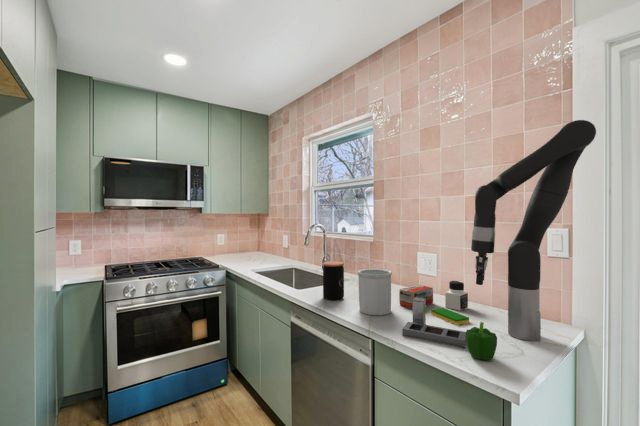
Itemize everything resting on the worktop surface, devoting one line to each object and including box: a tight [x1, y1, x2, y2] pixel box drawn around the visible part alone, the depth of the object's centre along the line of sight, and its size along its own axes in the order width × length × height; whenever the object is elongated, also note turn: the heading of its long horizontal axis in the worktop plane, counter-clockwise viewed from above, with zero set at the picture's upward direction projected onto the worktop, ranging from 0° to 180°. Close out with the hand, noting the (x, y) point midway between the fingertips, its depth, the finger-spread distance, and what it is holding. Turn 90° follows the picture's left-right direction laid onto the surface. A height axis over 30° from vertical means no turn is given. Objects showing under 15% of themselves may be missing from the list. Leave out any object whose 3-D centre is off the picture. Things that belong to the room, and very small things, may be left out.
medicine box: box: [398, 284, 434, 310], centre depth 143 cm, size 15×8×8 cm, turn 125°
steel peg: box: [412, 297, 427, 325], centre depth 117 cm, size 4×4×10 cm
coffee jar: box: [322, 260, 345, 302], centre depth 154 cm, size 11×11×18 cm
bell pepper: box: [465, 321, 498, 362], centre depth 91 cm, size 8×8×10 cm
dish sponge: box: [430, 307, 470, 326], centre depth 124 cm, size 7×14×2 cm, turn 23°
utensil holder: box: [357, 268, 393, 316], centre depth 134 cm, size 15×15×18 cm
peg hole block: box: [401, 321, 467, 349], centre depth 105 cm, size 20×8×2 cm, turn 59°
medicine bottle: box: [444, 280, 469, 312], centre depth 137 cm, size 7×7×12 cm
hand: (480, 282), depth 113 cm, fingers open, 8 cm apart
